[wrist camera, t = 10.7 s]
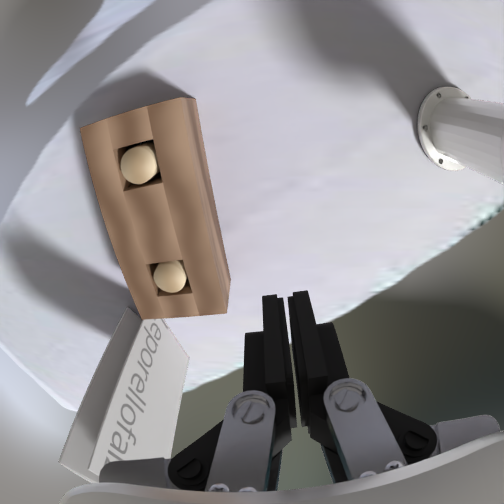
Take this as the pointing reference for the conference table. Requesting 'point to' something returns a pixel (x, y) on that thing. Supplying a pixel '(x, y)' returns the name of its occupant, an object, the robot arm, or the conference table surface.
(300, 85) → the conference table surface
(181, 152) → the walnut block
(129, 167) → the peg
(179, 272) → the peg
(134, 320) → the brochure
